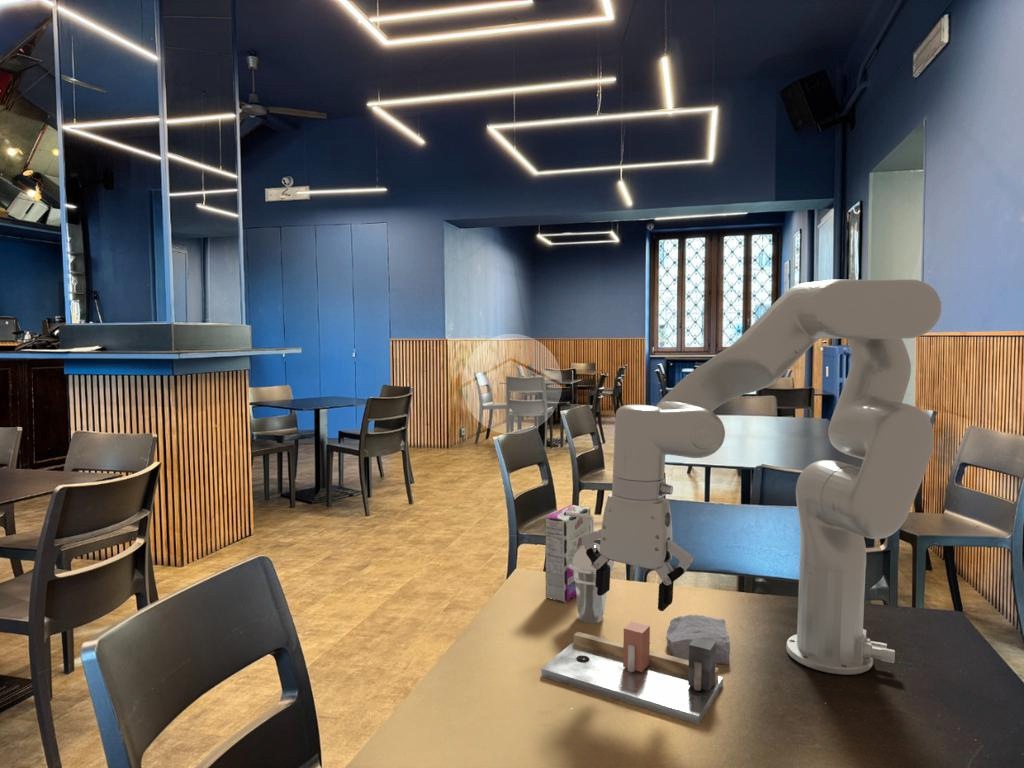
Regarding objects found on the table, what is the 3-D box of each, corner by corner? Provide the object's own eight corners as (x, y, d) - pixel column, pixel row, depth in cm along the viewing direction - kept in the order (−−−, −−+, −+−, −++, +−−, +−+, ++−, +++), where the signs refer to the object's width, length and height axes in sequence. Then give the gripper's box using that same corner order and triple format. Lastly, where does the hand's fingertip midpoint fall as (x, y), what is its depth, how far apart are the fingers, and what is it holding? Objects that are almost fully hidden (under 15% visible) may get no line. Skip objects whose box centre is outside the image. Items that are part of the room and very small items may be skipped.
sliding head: (649, 663, 104) (649, 625, 104) (639, 675, 101) (640, 635, 101) (630, 658, 106) (631, 621, 106) (620, 669, 103) (621, 630, 102)
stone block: (671, 672, 109) (735, 666, 107) (665, 643, 109) (730, 636, 107) (669, 642, 120) (727, 636, 118) (664, 615, 120) (722, 608, 118)
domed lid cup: (612, 630, 120) (614, 517, 118) (561, 625, 122) (562, 514, 120) (615, 610, 128) (617, 505, 126) (567, 606, 130) (568, 502, 128)
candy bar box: (569, 580, 143) (570, 503, 142) (591, 585, 140) (592, 507, 139) (543, 598, 134) (543, 516, 132) (566, 604, 131) (566, 520, 130)
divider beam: (718, 678, 101) (719, 637, 100) (706, 696, 96) (708, 652, 95) (577, 640, 113) (577, 603, 112) (561, 654, 108) (561, 616, 107)
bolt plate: (722, 685, 101) (723, 676, 101) (698, 724, 91) (698, 715, 91) (577, 645, 114) (577, 637, 114) (541, 676, 104) (541, 667, 104)
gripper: (703, 492, 100) (697, 605, 102) (595, 476, 110) (591, 580, 111) (687, 502, 94) (680, 623, 95) (574, 484, 103) (570, 595, 104)
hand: (632, 600), depth 103 cm, fingers open, 9 cm apart
